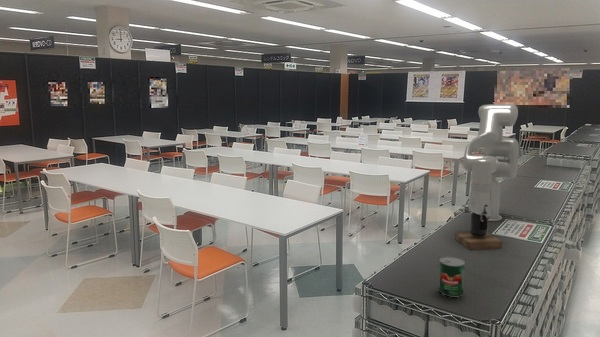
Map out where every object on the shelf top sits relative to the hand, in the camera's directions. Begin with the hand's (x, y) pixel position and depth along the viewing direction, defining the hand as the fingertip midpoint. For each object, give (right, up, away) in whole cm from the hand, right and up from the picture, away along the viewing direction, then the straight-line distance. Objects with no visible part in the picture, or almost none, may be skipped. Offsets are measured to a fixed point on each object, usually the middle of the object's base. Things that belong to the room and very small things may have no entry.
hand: (478, 226), depth 181 cm
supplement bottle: (0, -3, +1) cm, 3 cm away
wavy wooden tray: (0, -7, +1) cm, 8 cm away
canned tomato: (-28, -16, -43) cm, 54 cm away
